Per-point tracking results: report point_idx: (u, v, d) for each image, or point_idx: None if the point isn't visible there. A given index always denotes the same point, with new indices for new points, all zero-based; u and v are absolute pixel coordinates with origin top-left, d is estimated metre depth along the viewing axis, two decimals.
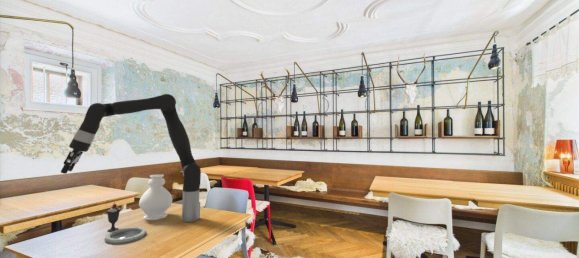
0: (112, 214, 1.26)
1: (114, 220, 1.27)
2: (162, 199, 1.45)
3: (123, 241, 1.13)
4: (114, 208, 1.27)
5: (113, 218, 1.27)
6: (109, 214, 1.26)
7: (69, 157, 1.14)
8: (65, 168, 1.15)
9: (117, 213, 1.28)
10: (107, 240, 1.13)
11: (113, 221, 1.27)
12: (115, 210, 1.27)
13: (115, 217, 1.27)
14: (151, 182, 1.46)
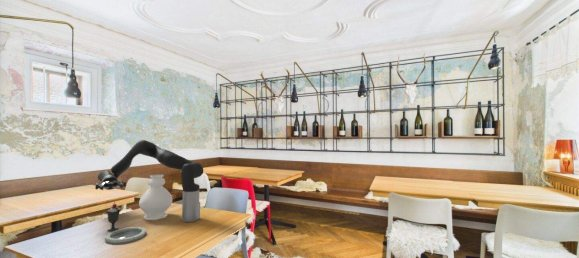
0: (112, 214, 1.26)
1: (114, 220, 1.27)
2: (162, 199, 1.45)
3: (123, 241, 1.13)
4: (114, 208, 1.27)
5: (113, 218, 1.27)
6: (109, 214, 1.26)
7: None
8: (99, 187, 1.35)
9: (117, 213, 1.28)
10: (107, 240, 1.13)
11: (113, 221, 1.27)
12: (115, 210, 1.27)
13: (115, 217, 1.27)
14: (151, 182, 1.46)
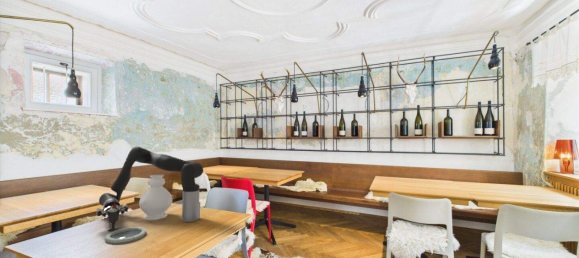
0: (112, 214, 1.26)
1: (114, 220, 1.27)
2: (162, 199, 1.45)
3: (123, 241, 1.13)
4: (114, 208, 1.27)
5: (113, 218, 1.27)
6: (109, 214, 1.26)
7: (97, 212, 1.28)
8: (102, 214, 1.26)
9: (117, 213, 1.28)
10: (107, 240, 1.13)
11: (113, 221, 1.27)
12: (115, 210, 1.27)
13: (115, 217, 1.27)
14: (151, 182, 1.46)
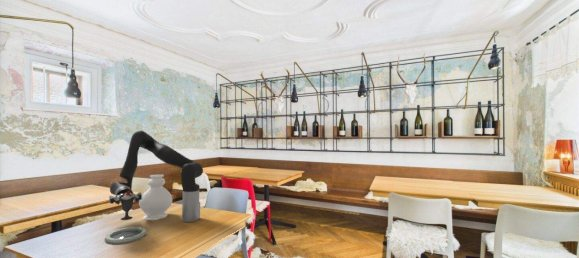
0: (126, 201, 1.19)
1: (128, 208, 1.20)
2: (162, 199, 1.45)
3: (123, 241, 1.13)
4: (128, 195, 1.19)
5: (127, 206, 1.19)
6: (123, 201, 1.18)
7: (109, 200, 1.21)
8: (115, 201, 1.18)
9: (131, 201, 1.20)
10: (107, 240, 1.13)
11: (127, 209, 1.19)
12: (129, 197, 1.19)
13: (129, 205, 1.20)
14: (151, 182, 1.46)
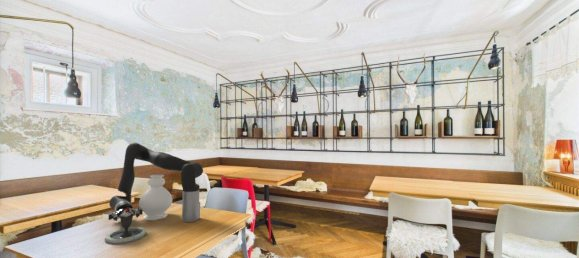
0: (125, 218, 1.18)
1: (127, 225, 1.19)
2: (162, 199, 1.45)
3: (123, 241, 1.13)
4: (127, 212, 1.19)
5: (126, 223, 1.19)
6: (122, 218, 1.18)
7: None
8: (113, 217, 1.18)
9: (131, 217, 1.20)
10: (107, 240, 1.13)
11: (126, 226, 1.19)
12: (128, 214, 1.19)
13: (128, 222, 1.19)
14: (151, 182, 1.46)
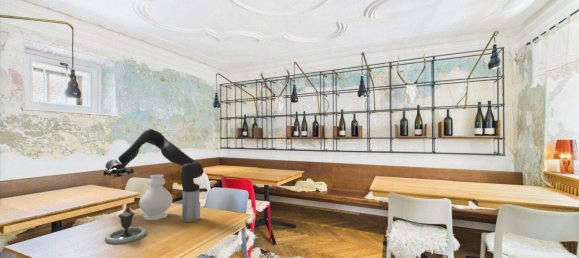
0: (125, 218, 1.18)
1: (127, 225, 1.19)
2: (162, 199, 1.45)
3: (123, 241, 1.13)
4: (127, 212, 1.19)
5: (126, 223, 1.19)
6: (122, 218, 1.18)
7: None
8: (107, 173, 1.36)
9: (131, 217, 1.20)
10: (107, 240, 1.13)
11: (126, 226, 1.19)
12: (129, 214, 1.19)
13: (128, 222, 1.19)
14: (151, 182, 1.46)
